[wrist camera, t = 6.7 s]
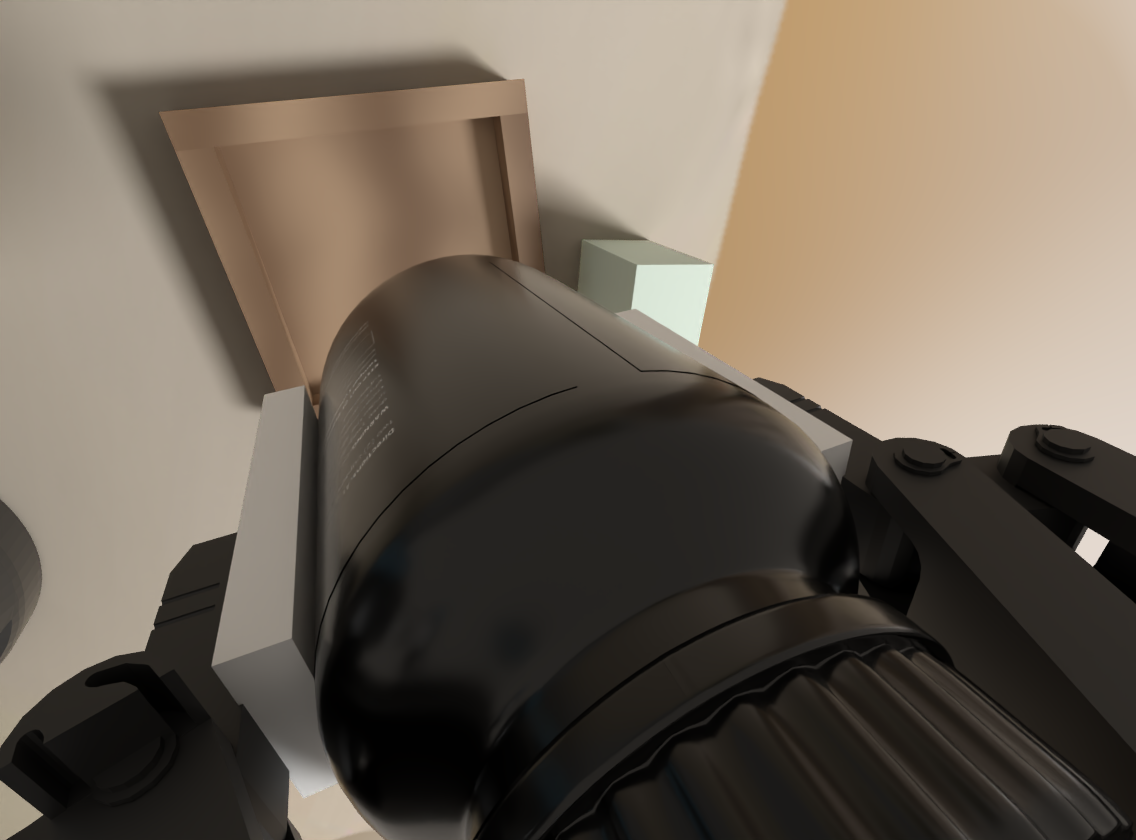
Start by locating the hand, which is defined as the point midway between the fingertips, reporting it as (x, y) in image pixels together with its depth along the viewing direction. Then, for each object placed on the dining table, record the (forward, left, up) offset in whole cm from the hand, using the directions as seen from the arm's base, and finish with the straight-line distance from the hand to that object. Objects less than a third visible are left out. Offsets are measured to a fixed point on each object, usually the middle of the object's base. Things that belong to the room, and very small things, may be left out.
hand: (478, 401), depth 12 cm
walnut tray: (0, 0, -16) cm, 16 cm away
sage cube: (+11, -3, -16) cm, 19 cm away
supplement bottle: (0, 0, -1) cm, 1 cm away
